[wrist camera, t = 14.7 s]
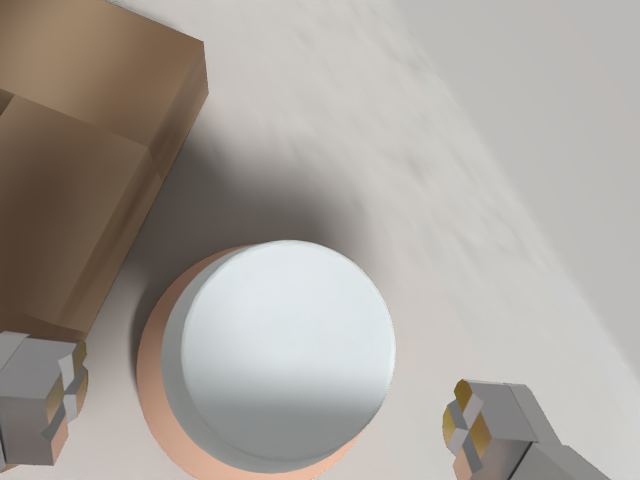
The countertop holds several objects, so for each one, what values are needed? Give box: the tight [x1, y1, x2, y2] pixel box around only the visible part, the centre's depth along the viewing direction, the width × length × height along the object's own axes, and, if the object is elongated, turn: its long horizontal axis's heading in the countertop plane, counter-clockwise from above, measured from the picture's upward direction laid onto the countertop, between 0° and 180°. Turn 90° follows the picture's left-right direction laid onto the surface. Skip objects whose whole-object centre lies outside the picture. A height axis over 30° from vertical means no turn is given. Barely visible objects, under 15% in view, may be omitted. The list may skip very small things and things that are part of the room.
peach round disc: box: [136, 244, 363, 480], centre depth 18 cm, size 9×9×1 cm
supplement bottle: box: [161, 240, 396, 474], centre depth 13 cm, size 5×5×10 cm
